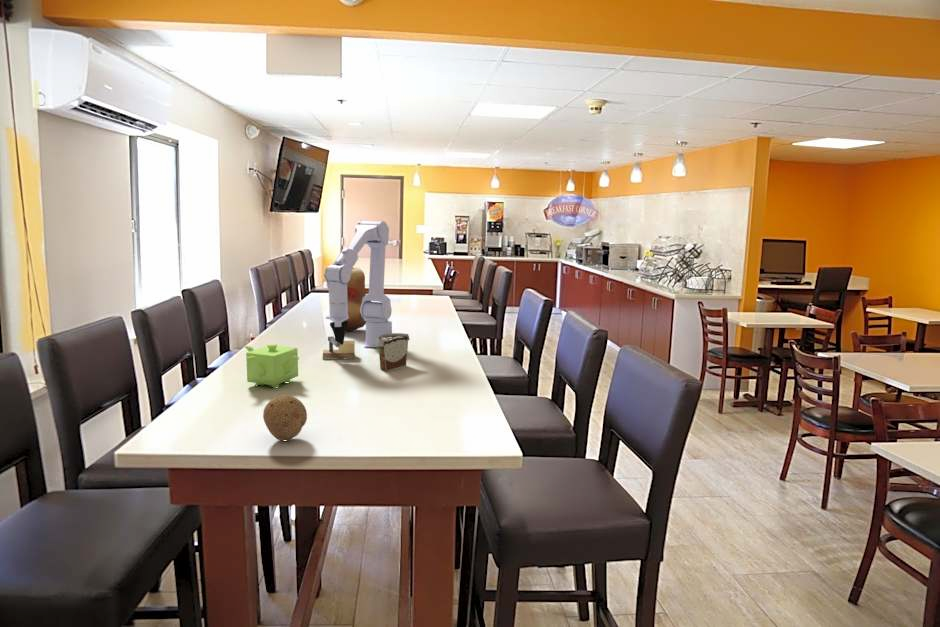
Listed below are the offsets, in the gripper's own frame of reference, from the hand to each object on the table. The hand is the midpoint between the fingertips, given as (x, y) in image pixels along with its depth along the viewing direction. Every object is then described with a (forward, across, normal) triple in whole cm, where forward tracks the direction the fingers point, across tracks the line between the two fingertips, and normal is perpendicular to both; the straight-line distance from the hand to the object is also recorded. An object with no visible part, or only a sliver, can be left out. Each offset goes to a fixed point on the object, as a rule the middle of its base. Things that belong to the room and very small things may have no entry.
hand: (339, 344), depth 204 cm
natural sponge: (+4, +68, -8) cm, 69 cm away
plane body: (+5, -4, -1) cm, 6 cm away
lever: (0, 0, -2) cm, 2 cm away
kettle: (+5, +25, -18) cm, 31 cm away
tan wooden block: (+3, -4, +2) cm, 5 cm away
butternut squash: (+6, -46, +2) cm, 46 cm away
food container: (+6, +10, +15) cm, 19 cm away
